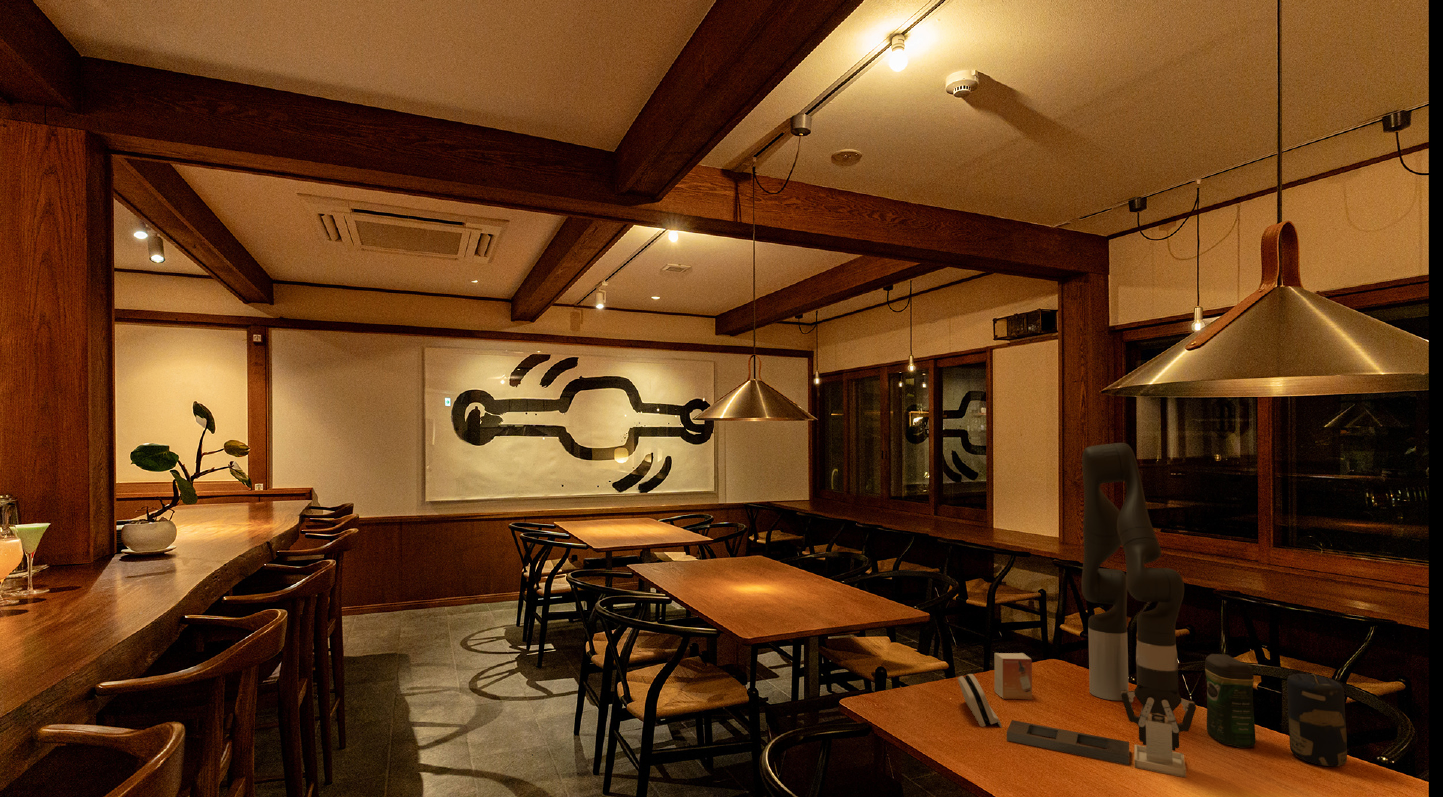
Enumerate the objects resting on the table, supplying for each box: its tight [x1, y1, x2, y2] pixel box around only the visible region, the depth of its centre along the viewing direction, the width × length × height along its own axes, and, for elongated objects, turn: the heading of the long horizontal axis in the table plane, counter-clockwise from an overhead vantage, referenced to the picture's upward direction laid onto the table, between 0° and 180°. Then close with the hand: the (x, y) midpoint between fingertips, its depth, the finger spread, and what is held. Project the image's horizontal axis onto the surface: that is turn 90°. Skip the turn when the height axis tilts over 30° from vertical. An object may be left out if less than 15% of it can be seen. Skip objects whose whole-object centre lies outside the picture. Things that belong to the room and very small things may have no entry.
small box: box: [994, 652, 1033, 700], centre depth 192 cm, size 8×6×10 cm
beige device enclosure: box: [957, 673, 1003, 728], centre depth 179 cm, size 17×5×10 cm, turn 173°
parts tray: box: [1134, 744, 1187, 779], centre depth 152 cm, size 9×9×2 cm
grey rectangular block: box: [1145, 713, 1173, 765], centre depth 152 cm, size 5×5×9 cm
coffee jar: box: [1204, 653, 1257, 749], centre depth 165 cm, size 10×8×19 cm
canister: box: [1286, 673, 1348, 767], centre depth 155 cm, size 10×10×18 cm
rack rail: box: [1006, 719, 1130, 766], centre depth 160 cm, size 8×24×2 cm, turn 60°
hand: (1158, 746), depth 152 cm, fingers closed on grey rectangular block, 4 cm apart
